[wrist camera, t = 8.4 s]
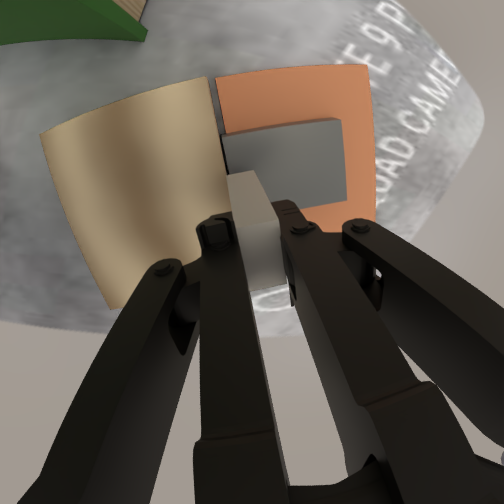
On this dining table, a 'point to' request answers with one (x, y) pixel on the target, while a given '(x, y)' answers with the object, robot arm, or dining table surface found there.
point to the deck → (139, 181)
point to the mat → (307, 108)
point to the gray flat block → (293, 160)
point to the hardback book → (70, 20)
